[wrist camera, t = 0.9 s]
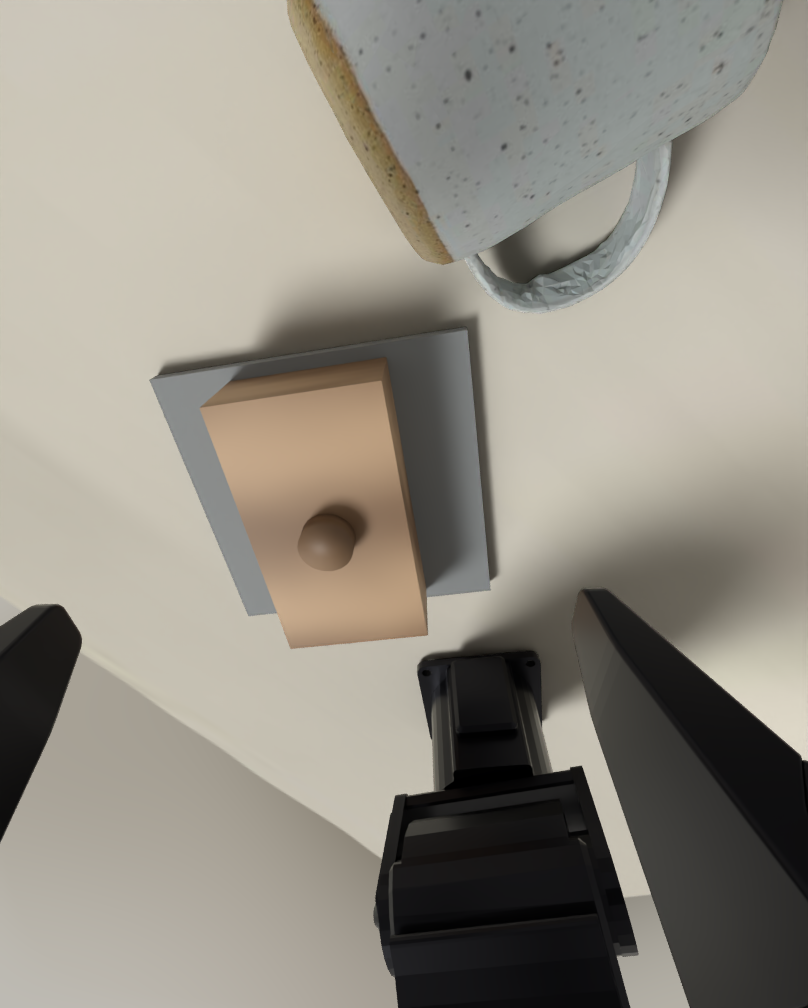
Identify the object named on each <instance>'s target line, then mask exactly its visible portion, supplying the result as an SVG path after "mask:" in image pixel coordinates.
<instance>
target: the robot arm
mask: <svg viewBox="0 0 808 1008" xmlns="http://www.w3.org/2000/svg"><path fill="white" fill-rule="evenodd" d="M572 633H573V638H574V643H575V647H576V652H577V656H578V661H579V665H580V670H581V674H582V679H583V683H584V688H585V692H586V697H587V702H588V706H589V710H590V714H591V718H592V721H593V724H594V727H595V730H596V733H597V736H598V739H599V742H600V745H601V748H602V751H603V754H604V757H605V760H606V763H607V766H608V769H609V772H610V774H611V777H612V780H613V783H614V786H615V789H616V792H617V795H618V798H619V801H620V804H621V807H622V810H623V813H624V816H625V818H626V821H627V824H628V827H629V830H630V833H631V836H632V839H633V842H634V845H635V848H636V851H637V854H638V857H639V860H640V862H641V865H642V868H643V871H644V874H645V877H646V880H647V883H648V886H649V889H650V892H651V895H652V898H653V901H654V903H655V906H656V909H657V912H658V915H659V918H660V921H661V924H662V927H663V930H664V933H665V936H666V939H667V942H668V945H669V948H670V950H671V953H672V956H673V959H674V962H675V965H676V968H677V971H678V974H679V977H680V980H681V983H682V986H683V989H684V992H685V994H686V997H687V1000H688V1003H689V1006H690V1008H808V761H806V760H802V758H801V755H800V754H799V753H797V752H796V751H795V750H794V749H793V748H792V747H790V746H789V745H788V744H787V743H786V742H785V741H784V740H782V739H781V738H780V737H779V736H778V735H777V734H775V733H774V732H773V731H772V730H771V729H770V728H768V727H767V726H766V725H765V724H764V723H763V722H761V721H760V720H759V719H758V718H757V717H756V716H754V715H753V714H752V713H751V712H750V711H749V710H748V709H746V708H745V707H744V706H743V705H742V704H741V703H739V702H738V701H737V700H736V699H735V698H734V697H732V696H731V695H730V694H729V693H728V692H727V691H725V690H724V689H723V688H722V687H721V686H720V685H718V684H717V683H716V682H715V681H714V680H713V679H712V678H710V677H709V676H708V675H707V674H706V673H705V672H703V671H702V670H701V669H700V668H699V667H698V666H696V665H695V664H694V663H693V662H692V661H691V660H689V659H688V658H687V657H686V656H685V655H684V654H683V653H681V652H680V651H679V650H678V649H677V648H676V647H674V646H673V645H672V644H671V643H670V642H669V641H667V640H666V639H665V638H664V637H663V636H662V635H660V634H659V633H658V632H657V631H656V630H655V629H653V628H652V627H651V626H650V625H649V624H648V623H647V622H645V621H644V620H643V619H642V618H641V617H640V616H638V615H637V614H636V613H635V612H634V611H633V610H631V609H630V608H629V607H628V606H627V605H626V604H624V603H623V602H622V601H621V600H620V599H619V598H617V597H616V596H615V595H614V594H613V593H612V592H611V591H609V590H608V589H606V588H603V587H596V588H583V589H581V590H580V592H579V594H578V598H577V602H576V605H575V609H574V613H573V617H572ZM81 645H82V637H81V634H80V632H79V630H78V628H77V627H76V625H75V624H74V622H73V621H72V619H71V618H70V616H69V614H68V613H67V611H66V610H65V609H64V607H62V606H61V605H59V604H40V605H34V606H31V607H29V608H28V609H26V610H25V611H23V612H21V613H20V614H18V615H17V616H15V617H14V618H12V619H11V620H9V621H8V622H6V623H5V624H3V625H1V626H0V842H1V840H2V838H3V836H4V834H5V831H6V829H7V827H8V825H9V823H10V821H11V818H12V816H13V814H14V812H15V809H16V808H17V805H18V803H19V801H20V799H21V797H22V795H23V793H24V790H25V788H26V786H27V784H28V782H29V780H30V778H31V775H32V773H33V771H34V769H35V767H36V765H37V762H38V760H39V758H40V756H41V754H42V752H43V749H44V747H45V745H46V743H47V740H48V738H49V736H50V734H51V731H52V728H53V726H54V723H55V721H56V718H57V715H58V713H59V710H60V707H61V704H62V701H63V698H64V695H65V692H66V689H67V687H68V684H69V681H70V678H71V675H72V672H73V669H74V667H75V664H76V661H77V658H78V655H79V652H80V649H81ZM529 660H532V661H529ZM417 674H418V679H419V684H420V689H421V694H422V698H423V703H424V708H425V713H426V718H427V723H428V727H429V732H430V737H431V739H432V746H433V778H434V792H427V793H421V794H415V795H409V796H408V795H407V794H401V795H396V796H395V799H394V805H393V810H392V813H391V815H390V820H389V825H388V830H387V836H386V841H385V847H384V852H383V858H382V863H381V869H380V874H379V879H378V885H377V890H376V898H375V899H376V904H375V907H374V923H375V925H376V927H377V928H378V929H379V931H380V938H381V944H382V950H383V955H384V959H385V962H386V965H387V967H388V970H389V972H390V973H391V975H392V976H393V977H395V980H396V991H397V1000H398V1008H630V1005H629V1001H628V997H627V994H626V990H625V986H624V983H623V979H622V975H621V971H620V968H619V964H618V960H617V956H623V957H626V956H636V955H638V950H637V945H636V941H635V937H634V933H633V930H632V926H631V922H630V919H629V915H628V911H627V908H626V904H625V901H624V897H623V894H622V891H621V887H620V884H619V880H618V877H617V874H616V870H615V867H614V864H613V860H612V857H611V854H610V851H609V848H608V845H607V842H606V838H605V835H604V832H603V829H602V826H601V823H600V820H599V817H598V814H597V811H596V808H595V805H594V801H593V798H592V795H591V792H590V789H589V786H588V783H587V780H586V777H585V774H584V771H583V767H582V766H576V767H570V770H565V771H559V772H553V771H552V767H551V763H550V759H549V755H548V751H547V747H546V743H545V739H544V735H543V731H542V705H541V665H540V659H539V656H538V654H537V653H536V652H533V651H525V652H514V653H503V654H493V655H482V656H471V657H461V658H450V659H440V660H429V661H423V662H421V663H419V664H418V667H417Z"/></svg>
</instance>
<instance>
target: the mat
mask: <svg viewBox="0 0 808 1008" xmlns="http://www.w3.org/2000/svg"><path fill="white" fill-rule="evenodd" d="M383 357H387V363H388V369H389V375H390V380H391V386H392V392H393V398H394V404H395V409H396V415H397V421H398V427H399V433H400V438H401V444H402V450H403V456H404V462H405V468H406V473H407V479H408V485H409V491H410V497H411V502H412V508H413V514H414V520H415V526H416V531H417V537H418V543H419V549H420V555H421V561H422V566H423V572H424V578H425V584H426V593H427V597H432V596H442V595H451V594H460V593H470V592H479V591H489V590H490V580H489V568H488V557H487V546H486V534H485V523H484V512H483V500H482V489H481V478H480V466H479V455H478V444H477V432H476V421H475V410H474V399H473V387H472V376H471V365H470V353H469V342H468V331H467V328H466V327H461V328H455V329H448V330H442V331H436V332H429V333H423V334H417V335H410V336H404V337H398V338H391V339H385V340H379V341H372V342H366V343H360V344H353V345H347V346H341V347H334V348H328V349H322V350H316V351H309V352H303V353H297V354H290V355H284V356H278V357H271V358H265V359H259V360H252V361H246V362H240V363H233V364H227V365H221V366H214V367H208V368H202V369H195V370H189V371H183V372H176V373H170V374H164V375H158V376H155V377H154V378H152V379H150V382H151V385H152V387H153V390H154V392H155V394H156V397H157V399H158V402H159V404H160V406H161V409H162V411H163V413H164V416H165V418H166V421H167V423H168V425H169V428H170V430H171V433H172V435H173V437H174V440H175V442H176V444H177V447H178V449H179V452H180V454H181V456H182V459H183V461H184V464H185V466H186V468H187V471H188V473H189V475H190V478H191V480H192V483H193V485H194V487H195V490H196V492H197V494H198V497H199V499H200V502H201V504H202V506H203V509H204V511H205V514H206V516H207V518H208V521H209V523H210V525H211V528H212V530H213V533H214V535H215V537H216V540H217V542H218V545H219V547H220V549H221V552H222V554H223V556H224V559H225V561H226V564H227V566H228V568H229V571H230V573H231V575H232V578H233V580H234V583H235V585H236V587H237V590H238V592H239V595H240V597H241V599H242V602H243V604H244V606H245V609H246V611H247V614H248V616H254V615H263V614H273V613H277V611H276V609H275V606H274V603H273V601H272V598H271V595H270V593H269V590H268V588H267V585H266V582H265V580H264V577H263V574H262V572H261V569H260V566H259V564H258V561H257V559H256V556H255V553H254V551H253V548H252V545H251V543H250V540H249V537H248V535H247V532H246V530H245V527H244V524H243V522H242V519H241V516H240V514H239V511H238V508H237V506H236V503H235V501H234V498H233V495H232V493H231V490H230V487H229V485H228V482H227V479H226V477H225V474H224V472H223V469H222V466H221V464H220V461H219V458H218V456H217V453H216V450H215V448H214V445H213V443H212V440H211V437H210V435H209V432H208V429H207V427H206V424H205V421H204V419H203V416H202V414H201V411H200V407H201V406H202V405H203V404H204V403H206V402H207V401H208V400H209V399H210V398H211V397H212V396H213V395H215V394H216V393H217V392H218V391H219V390H220V389H221V388H223V387H224V386H225V385H226V384H227V383H228V382H229V381H235V380H241V379H248V378H254V377H261V376H267V375H273V374H280V373H286V372H293V371H299V370H306V369H312V368H319V367H325V366H332V365H338V364H345V363H351V362H357V361H364V360H370V359H377V358H383Z"/></svg>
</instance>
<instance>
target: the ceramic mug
mask: <svg viewBox="0 0 808 1008" xmlns="http://www.w3.org/2000/svg"><path fill="white" fill-rule="evenodd" d="M782 2H783V0H287V8H288V16H289V20H290V23H291V27H292V29H293V31H294V33H295V36H296V38H297V40H298V42H299V44H300V47H301V49H302V51H303V53H304V56H305V58H306V60H307V62H308V64H309V66H310V68H311V70H312V72H313V74H314V76H315V78H316V80H317V82H318V84H319V86H320V88H321V89H322V91H323V93H324V95H325V97H326V99H327V101H328V103H329V104H330V106H331V108H332V110H333V112H334V114H335V116H336V118H337V120H338V122H339V124H340V126H341V128H342V130H343V132H344V134H345V136H346V138H347V140H348V141H349V143H350V145H351V146H352V148H353V150H354V152H355V153H356V155H357V157H358V158H359V160H360V162H361V164H362V165H363V167H364V169H365V170H366V172H367V174H368V176H369V177H370V179H371V181H372V182H373V184H374V186H375V187H376V189H377V191H378V192H379V194H380V196H381V197H382V199H383V201H384V203H385V204H386V206H387V208H388V209H389V211H390V213H391V214H392V216H393V217H394V219H395V221H396V222H397V224H398V226H399V227H400V229H401V231H402V232H403V234H404V236H405V237H406V238H407V240H408V241H409V243H410V244H411V246H412V247H413V248H414V250H415V251H416V252H417V253H418V254H419V255H420V257H421V258H423V259H424V260H426V261H429V262H433V263H437V264H442V265H444V264H448V263H451V262H455V261H459V260H462V259H464V260H465V261H466V263H467V265H468V267H469V269H470V271H471V272H472V274H473V275H474V277H475V279H476V281H477V282H478V283H479V284H480V285H481V287H482V288H483V289H484V290H485V292H486V293H487V294H488V295H489V296H490V297H492V298H493V299H494V300H496V301H497V302H498V303H499V304H501V305H502V306H504V307H506V308H508V309H510V310H514V311H519V312H524V313H540V314H541V313H546V312H551V311H555V310H558V309H562V308H566V307H569V306H571V305H574V304H576V303H578V302H580V301H582V300H584V299H586V298H588V297H590V296H592V295H594V294H595V293H597V292H599V291H600V290H602V289H603V288H605V287H606V286H607V285H609V284H610V283H611V282H613V281H614V280H615V279H616V278H617V277H618V276H619V275H621V274H622V273H623V272H624V271H625V269H626V268H627V267H628V266H629V265H630V264H631V263H632V261H633V260H634V259H635V258H636V256H637V255H638V253H639V252H640V250H641V249H642V247H643V246H644V244H645V242H646V241H647V239H648V237H649V235H650V233H651V231H652V229H653V227H654V225H655V222H656V220H657V218H658V215H659V213H660V210H661V207H662V203H663V200H664V197H665V193H666V189H667V184H668V177H669V170H670V165H671V153H672V146H673V142H672V139H674V138H676V137H678V136H680V135H681V134H683V133H685V132H687V131H689V130H690V129H692V128H694V127H696V126H698V125H699V124H701V123H703V122H704V121H706V120H707V119H709V118H710V117H712V116H713V115H715V114H716V113H717V112H719V111H720V110H721V109H723V108H724V107H726V106H727V105H728V104H730V103H731V102H732V101H734V100H735V99H736V98H738V97H739V96H740V95H741V94H742V93H743V92H744V90H745V89H746V88H747V86H748V85H749V83H750V82H751V80H752V79H753V77H754V76H755V74H756V72H757V70H758V69H759V67H760V65H761V63H762V61H763V59H764V57H765V56H766V54H767V52H768V49H769V45H770V42H771V40H772V37H773V35H774V32H775V30H776V26H777V22H778V18H779V14H780V10H781V6H782ZM636 160H637V163H636V170H635V177H634V182H633V186H632V190H631V195H630V199H629V203H628V204H627V206H626V208H625V211H624V213H623V215H622V217H621V219H620V221H619V222H618V224H617V225H616V227H615V229H614V231H613V232H612V234H611V235H610V236H609V237H608V239H607V240H606V241H605V242H603V243H601V244H600V246H599V247H598V248H597V249H596V250H595V251H594V252H591V253H590V254H589V255H587V256H585V257H583V258H581V259H579V260H577V261H575V262H573V263H571V264H569V265H567V266H565V267H563V268H561V269H559V270H557V271H554V272H552V273H549V274H542V275H538V276H536V277H535V278H534V279H532V280H531V281H530V282H528V283H527V284H524V283H513V282H511V281H508V280H506V279H503V278H500V277H497V276H496V275H495V274H494V273H493V272H492V271H491V270H490V268H489V267H488V266H486V265H485V264H484V263H483V261H482V260H481V259H480V257H479V256H478V253H479V252H482V251H484V250H486V249H488V248H490V247H492V246H494V245H496V244H498V243H499V242H501V241H503V240H504V239H506V238H508V237H509V236H511V235H513V234H515V233H516V232H518V231H520V230H521V229H523V228H525V227H526V226H528V225H529V224H531V223H532V222H534V221H535V220H537V219H538V218H539V217H541V216H542V215H544V214H545V213H547V212H548V211H550V210H552V209H553V208H555V207H556V206H558V205H560V204H561V203H563V202H565V201H566V200H568V199H570V198H572V197H573V196H575V195H577V194H578V193H580V192H582V191H584V190H585V189H587V188H589V187H591V186H593V185H595V184H596V183H598V182H600V181H602V180H604V179H605V178H607V177H609V176H611V175H613V174H614V173H616V172H618V171H620V170H621V169H623V168H625V167H627V166H628V165H630V164H631V163H633V162H635V161H636Z"/></svg>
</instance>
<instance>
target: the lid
mask: <svg viewBox="0 0 808 1008" xmlns="http://www.w3.org/2000/svg"><path fill="white" fill-rule="evenodd" d="M200 411H201V414H202V416H203V419H204V421H205V424H206V427H207V429H208V432H209V435H210V437H211V440H212V443H213V445H214V448H215V450H216V453H217V456H218V458H219V461H220V464H221V466H222V469H223V472H224V474H225V477H226V479H227V482H228V485H229V487H230V490H231V493H232V495H233V498H234V501H235V503H236V506H237V508H238V511H239V514H240V516H241V519H242V522H243V524H244V527H245V530H246V532H247V535H248V537H249V540H250V543H251V545H252V548H253V551H254V553H255V556H256V559H257V561H258V564H259V566H260V569H261V572H262V574H263V577H264V580H265V582H266V585H267V588H268V590H269V593H270V595H271V598H272V601H273V603H274V606H275V609H276V611H277V614H278V617H279V619H280V622H281V624H282V627H283V630H284V632H285V635H286V638H287V640H288V643H289V646H290V648H291V649H294V648H304V647H314V646H324V645H335V644H345V643H355V642H365V641H375V640H385V639H395V638H405V637H415V636H425V635H428V627H427V593H426V584H425V578H424V572H423V566H422V561H421V555H420V549H419V543H418V537H417V531H416V526H415V520H414V514H413V508H412V502H411V497H410V491H409V485H408V479H407V473H406V468H405V462H404V456H403V450H402V444H401V438H400V433H399V427H398V421H397V415H396V409H395V404H394V398H393V392H392V386H391V380H390V375H389V369H388V363H387V357H383V358H377V359H370V360H364V361H357V362H351V363H345V364H338V365H332V366H325V367H319V368H312V369H306V370H299V371H293V372H286V373H280V374H273V375H267V376H261V377H254V378H248V379H241V380H235V381H229V382H228V383H227V384H226V385H225V386H224V387H223V388H221V389H220V390H219V391H218V392H217V393H216V394H215V395H213V396H212V397H211V398H210V399H209V400H208V401H207V402H206V403H204V404H203V405H202V406H201V407H200Z"/></svg>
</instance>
